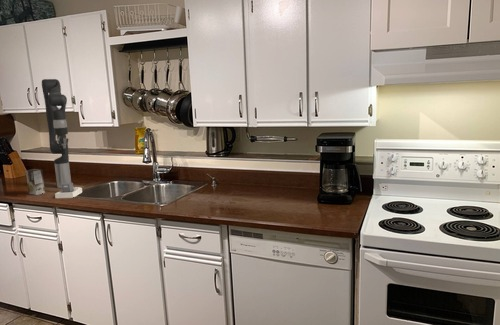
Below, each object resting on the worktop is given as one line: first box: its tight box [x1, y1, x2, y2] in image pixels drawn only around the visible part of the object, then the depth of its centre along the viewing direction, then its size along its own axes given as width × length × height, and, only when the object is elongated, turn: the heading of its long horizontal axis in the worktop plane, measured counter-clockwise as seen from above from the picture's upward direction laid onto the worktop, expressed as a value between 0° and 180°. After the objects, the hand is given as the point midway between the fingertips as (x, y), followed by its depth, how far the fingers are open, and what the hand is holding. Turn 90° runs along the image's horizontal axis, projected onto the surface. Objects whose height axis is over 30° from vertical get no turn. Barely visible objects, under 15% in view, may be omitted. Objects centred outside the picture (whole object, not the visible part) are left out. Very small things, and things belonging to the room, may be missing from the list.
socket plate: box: [54, 186, 83, 199], centre depth 242 cm, size 14×11×4 cm
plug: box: [61, 182, 74, 193], centre depth 241 cm, size 5×5×7 cm
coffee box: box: [25, 168, 46, 196], centre depth 248 cm, size 9×6×16 cm
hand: (63, 154), depth 237 cm, fingers closed
